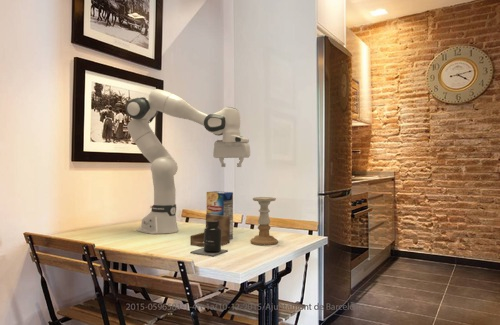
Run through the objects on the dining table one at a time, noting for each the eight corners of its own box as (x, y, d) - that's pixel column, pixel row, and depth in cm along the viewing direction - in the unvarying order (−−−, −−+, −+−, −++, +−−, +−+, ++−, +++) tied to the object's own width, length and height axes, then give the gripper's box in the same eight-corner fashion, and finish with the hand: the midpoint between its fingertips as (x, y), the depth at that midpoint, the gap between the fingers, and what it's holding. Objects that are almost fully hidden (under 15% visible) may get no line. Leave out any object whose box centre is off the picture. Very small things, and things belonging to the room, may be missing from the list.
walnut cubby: (190, 245, 157) (190, 217, 158) (207, 240, 168) (207, 214, 168) (213, 248, 151) (213, 219, 151) (229, 243, 162) (229, 216, 162)
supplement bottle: (206, 253, 139) (206, 222, 139) (202, 249, 145) (202, 220, 146) (223, 252, 142) (223, 221, 142) (218, 248, 148) (218, 219, 148)
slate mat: (190, 253, 142) (190, 251, 142) (205, 248, 151) (205, 246, 151) (213, 256, 137) (213, 255, 137) (227, 251, 146) (227, 250, 146)
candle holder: (283, 242, 163) (283, 198, 164) (264, 246, 155) (264, 199, 155) (263, 238, 172) (263, 196, 172) (244, 242, 163) (245, 197, 164)
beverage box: (223, 240, 167) (223, 193, 167) (206, 237, 174) (206, 192, 174) (232, 238, 172) (233, 192, 173) (215, 235, 179) (216, 191, 179)
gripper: (210, 139, 185) (210, 166, 185) (245, 138, 175) (245, 166, 174) (217, 140, 190) (217, 166, 190) (251, 139, 180) (251, 167, 180)
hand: (231, 166), depth 182 cm, fingers open, 8 cm apart
